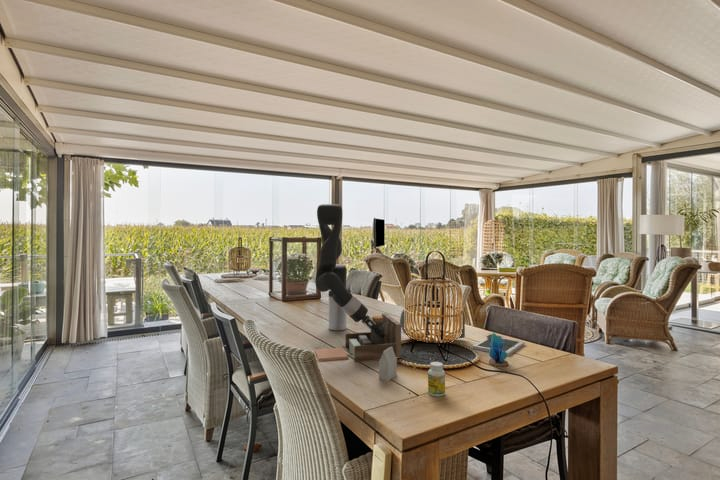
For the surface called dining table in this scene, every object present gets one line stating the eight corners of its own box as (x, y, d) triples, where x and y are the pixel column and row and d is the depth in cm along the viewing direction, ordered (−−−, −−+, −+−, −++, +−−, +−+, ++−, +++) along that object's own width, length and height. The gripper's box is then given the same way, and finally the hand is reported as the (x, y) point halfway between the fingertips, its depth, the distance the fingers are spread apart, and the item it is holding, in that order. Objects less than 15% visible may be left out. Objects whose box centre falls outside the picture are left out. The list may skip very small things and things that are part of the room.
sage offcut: (349, 349, 174) (349, 339, 173) (355, 348, 174) (355, 338, 174) (355, 359, 160) (355, 348, 160) (362, 359, 161) (362, 348, 160)
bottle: (380, 354, 165) (380, 319, 165) (368, 352, 168) (368, 317, 168) (386, 351, 170) (386, 316, 170) (374, 348, 173) (374, 314, 173)
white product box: (396, 374, 143) (396, 347, 143) (388, 381, 137) (388, 352, 137) (387, 372, 145) (387, 345, 145) (378, 379, 139) (378, 350, 139)
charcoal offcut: (358, 349, 174) (358, 335, 173) (365, 348, 174) (365, 335, 174) (364, 357, 162) (364, 343, 162) (371, 357, 162) (371, 342, 162)
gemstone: (485, 364, 153) (485, 334, 153) (492, 358, 160) (493, 329, 160) (504, 369, 149) (505, 337, 148) (511, 362, 156) (512, 332, 155)
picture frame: (490, 340, 189) (472, 350, 174) (490, 334, 189) (472, 343, 174) (524, 346, 179) (508, 357, 163) (524, 340, 179) (508, 351, 163)
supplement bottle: (448, 393, 127) (448, 363, 127) (438, 398, 123) (439, 368, 123) (434, 388, 131) (434, 359, 130) (424, 393, 127) (424, 363, 127)
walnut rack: (345, 346, 177) (345, 315, 176) (386, 343, 181) (386, 313, 181) (355, 362, 156) (355, 326, 156) (401, 358, 161) (401, 324, 160)
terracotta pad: (315, 351, 169) (315, 349, 169) (342, 349, 172) (342, 347, 172) (318, 361, 157) (318, 358, 157) (348, 358, 160) (348, 356, 160)
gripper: (364, 305, 160) (392, 332, 163) (356, 298, 174) (382, 324, 177) (351, 318, 159) (380, 346, 162) (344, 311, 173) (371, 336, 176)
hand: (381, 334), depth 169 cm, fingers closed on bottle, 5 cm apart
